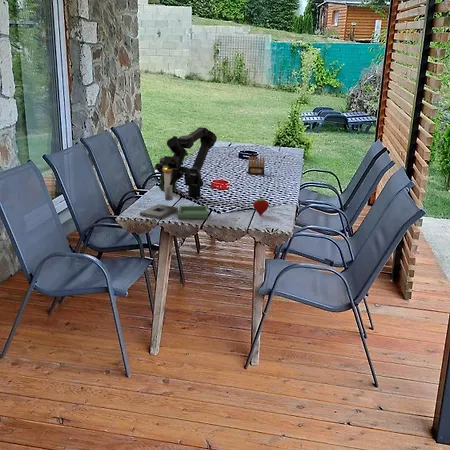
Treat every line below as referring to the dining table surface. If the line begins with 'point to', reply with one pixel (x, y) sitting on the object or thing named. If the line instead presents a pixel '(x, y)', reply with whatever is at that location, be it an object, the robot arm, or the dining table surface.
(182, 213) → the parts tray
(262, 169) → the ammunition clip
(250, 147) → the dining table surface
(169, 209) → the plate
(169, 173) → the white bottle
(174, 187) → the coffee jar
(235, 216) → the dining table surface
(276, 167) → the dining table surface
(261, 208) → the strawberry
